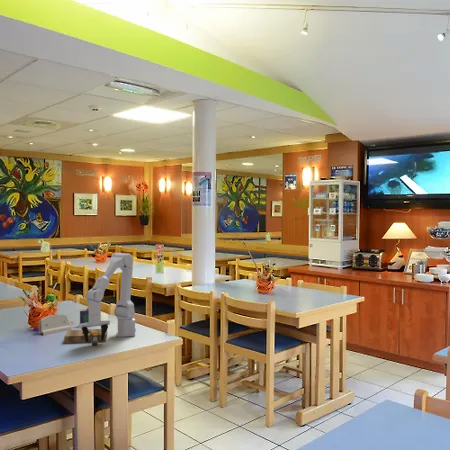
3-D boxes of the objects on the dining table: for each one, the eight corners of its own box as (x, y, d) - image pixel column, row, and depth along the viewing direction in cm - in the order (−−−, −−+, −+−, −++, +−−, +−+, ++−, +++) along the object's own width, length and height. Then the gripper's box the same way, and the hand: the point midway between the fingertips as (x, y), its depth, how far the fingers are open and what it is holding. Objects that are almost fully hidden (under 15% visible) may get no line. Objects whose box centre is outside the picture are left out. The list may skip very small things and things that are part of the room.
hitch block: (107, 335, 242) (107, 328, 242) (105, 341, 231) (105, 334, 231) (67, 336, 239) (67, 330, 238) (64, 343, 227) (64, 336, 227)
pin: (99, 343, 227) (99, 331, 227) (99, 345, 223) (98, 333, 223) (90, 343, 226) (90, 331, 226) (89, 346, 222) (89, 334, 222)
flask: (96, 324, 266) (96, 306, 265) (96, 325, 263) (96, 307, 263) (79, 325, 262) (79, 307, 262) (80, 326, 260) (79, 308, 259)
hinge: (43, 335, 241) (40, 316, 243) (39, 336, 244) (36, 318, 246) (72, 329, 253) (69, 311, 255) (68, 330, 256) (65, 313, 258)
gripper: (107, 310, 231) (107, 337, 232) (77, 313, 224) (77, 340, 225) (111, 313, 225) (110, 340, 226) (81, 316, 218) (81, 344, 218)
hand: (94, 340), depth 225 cm, fingers open, 7 cm apart
